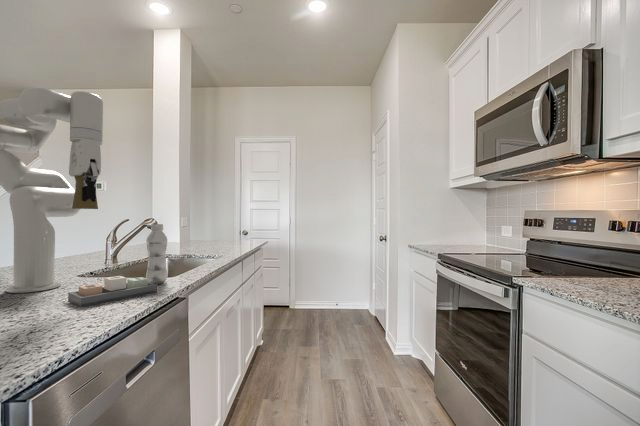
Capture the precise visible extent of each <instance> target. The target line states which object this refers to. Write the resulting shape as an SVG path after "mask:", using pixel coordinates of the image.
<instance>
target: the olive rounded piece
mask: <svg viewBox="0 0 640 426" xmlns="http://www.w3.org/2000/svg"><path fill="white" fill-rule="evenodd" d="M86 175H89V176H90V175H91V174H87V173H86ZM73 177H74V180H76V181H77V183H76V181H75V184H76V187H75V188H74V190H75V194H74V200H73V206H72V209H80V210H86V209H87V210H98V209H99V207H98V199H97V196H96V201H95V202H92V201H91V199H88V200H86V201H82V187H84V185H83V174H82V175H80V176H77V175H74V176H73ZM87 180H88V178H87ZM94 188H95V187H94Z"/></svg>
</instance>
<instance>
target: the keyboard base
mask: <svg viewBox="0 0 640 426" xmlns="http://www.w3.org/2000/svg"><path fill="white" fill-rule="evenodd" d="M67 293H68V294H67V296H68V298H67V302H68V303H69V304H72V305H73V306H76V307H77V308H80V309H85V308H89V307H93V306H99V305H104V304H108V303H109V304H110V303H114V302H118V301H119V302H120V301H124V300H129V299H130V300H131V299H134V298H139V297H144V296H149V295H153V294H154V295H155V294H158V284H153V283H149V282H148V286H142V287H137V288H131V289H127V282H126V288H124V289H118V290H113V291H109V290H107V289H104V286H102V294H97V295H91V296H85V297H84V296H81V295H79V290H77V291H71V292H67Z"/></svg>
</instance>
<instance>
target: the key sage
mask: <svg viewBox="0 0 640 426" xmlns="http://www.w3.org/2000/svg"><path fill="white" fill-rule="evenodd" d="M126 283H127V289H131V288H137V287H142V286H148V279H147V278H146V277H142V276H140V277H133V278H126Z"/></svg>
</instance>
